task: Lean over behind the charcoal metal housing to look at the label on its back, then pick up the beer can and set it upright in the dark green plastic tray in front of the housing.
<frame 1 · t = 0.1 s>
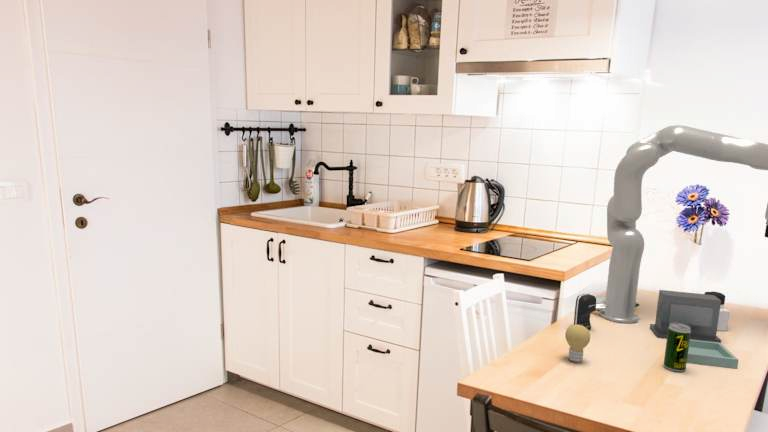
beer can: (674, 369, 150), on the table
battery: (583, 330, 177), on the table
housing: (683, 336, 176), on the table
light bulb: (575, 361, 152), on the table
tray: (702, 356, 159), on the table
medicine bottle: (710, 327, 186), on the table
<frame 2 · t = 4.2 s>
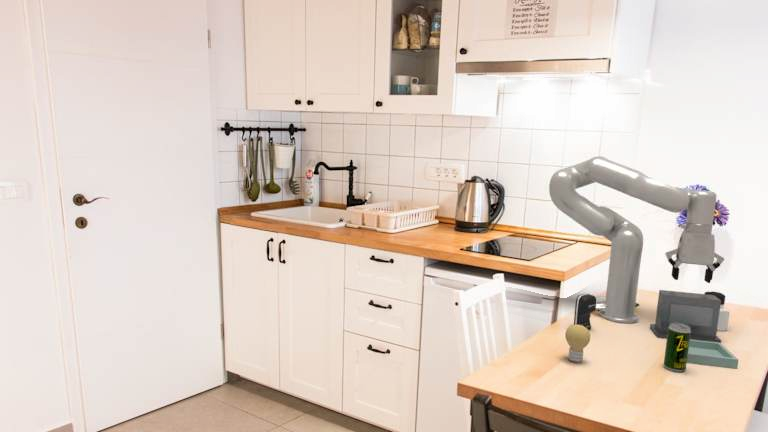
hand: (691, 280, 181), 16 cm above the table, tool pointing down, fingers open, 9 cm apart
nothing on the table moved.
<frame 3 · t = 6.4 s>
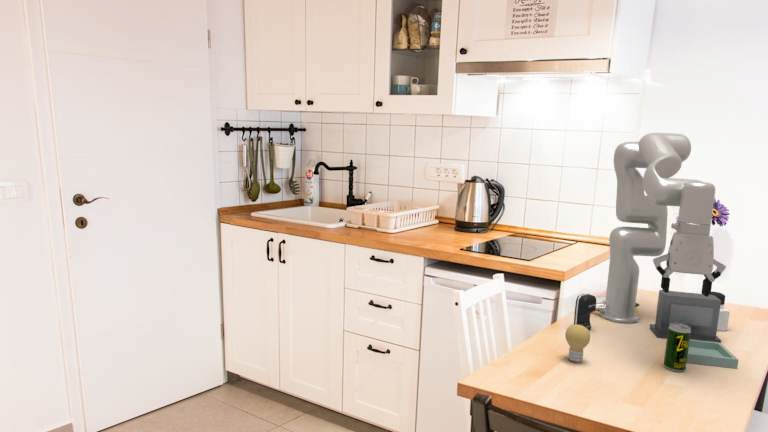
hand: (684, 293, 147), 21 cm above the table, tool pointing down, fingers open, 9 cm apart
nothing on the table moved.
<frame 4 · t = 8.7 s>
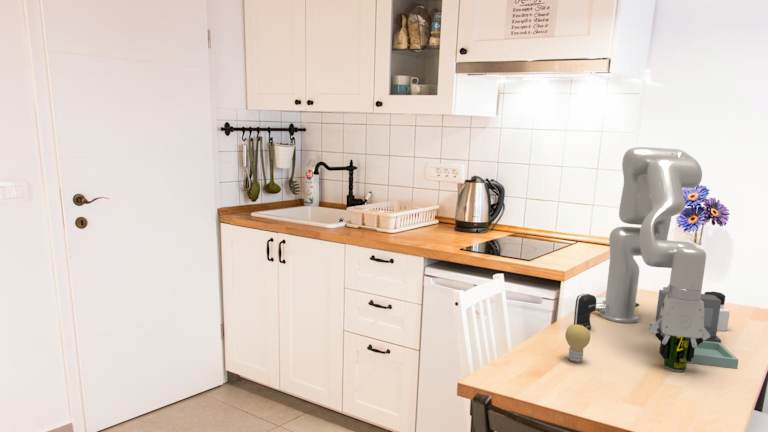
hand: (675, 357, 149), 3 cm above the table, tool pointing down, fingers closed on beer can, 5 cm apart
beer can: (674, 369, 150), on the table, touching gripper
everything else where it was.
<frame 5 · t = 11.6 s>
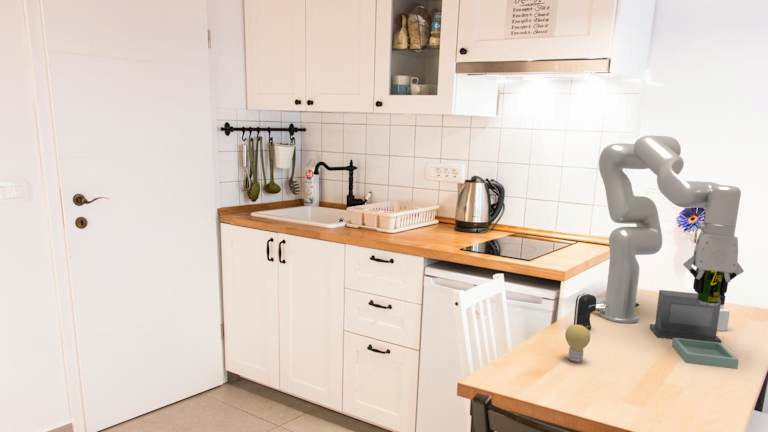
hand: (709, 292, 156), 19 cm above the table, tool pointing down, fingers closed on beer can, 5 cm apart
beer can: (707, 303, 157), point 16 cm above the table, touching gripper
everything else where it was.
when the fingers open (5 cm above the table, at t = 14.9 s): beer can drops 1 cm, resting on tray.
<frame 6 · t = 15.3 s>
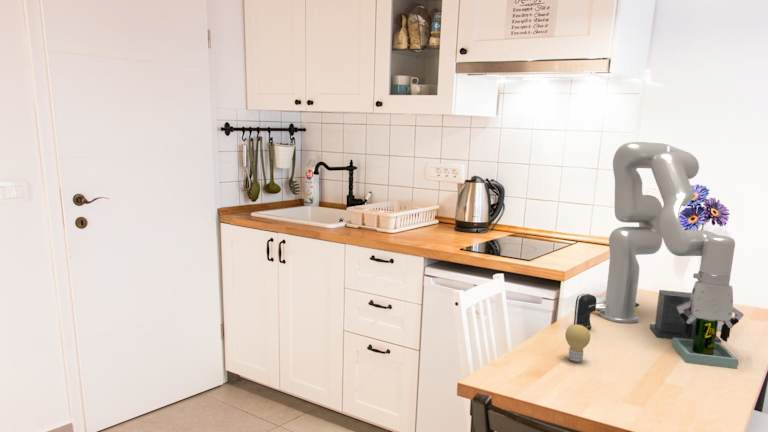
hand: (705, 337, 159), 6 cm above the table, tool pointing down, fingers open, 9 cm apart
beer can: (702, 354, 160), resting on tray
everything else where it was.
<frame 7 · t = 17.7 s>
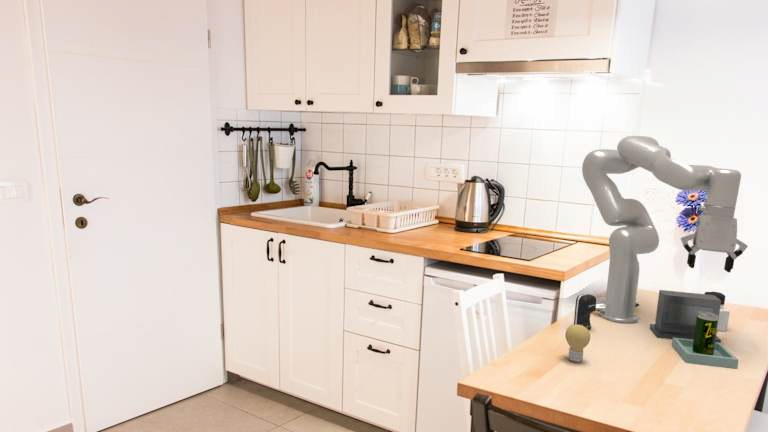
hand: (708, 269, 163), 24 cm above the table, tool pointing down, fingers open, 9 cm apart
nothing on the table moved.
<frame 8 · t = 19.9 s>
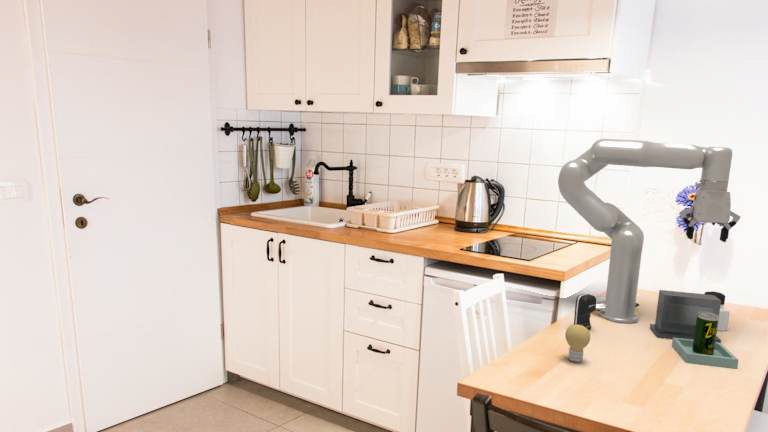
hand: (706, 239, 177), 30 cm above the table, tool pointing down, fingers open, 9 cm apart
nothing on the table moved.
at the end: beer can inside the target area on the tray (0.3 cm from its centre), point 0.4 cm above the tray's base; beer can tilted 0°; the gripper is holding nothing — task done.
